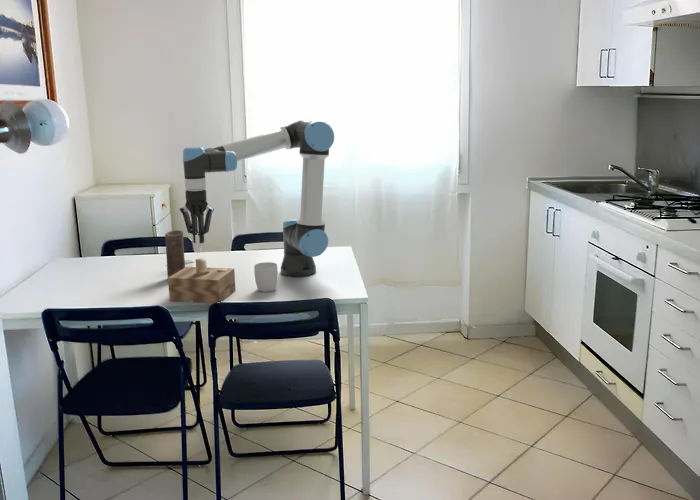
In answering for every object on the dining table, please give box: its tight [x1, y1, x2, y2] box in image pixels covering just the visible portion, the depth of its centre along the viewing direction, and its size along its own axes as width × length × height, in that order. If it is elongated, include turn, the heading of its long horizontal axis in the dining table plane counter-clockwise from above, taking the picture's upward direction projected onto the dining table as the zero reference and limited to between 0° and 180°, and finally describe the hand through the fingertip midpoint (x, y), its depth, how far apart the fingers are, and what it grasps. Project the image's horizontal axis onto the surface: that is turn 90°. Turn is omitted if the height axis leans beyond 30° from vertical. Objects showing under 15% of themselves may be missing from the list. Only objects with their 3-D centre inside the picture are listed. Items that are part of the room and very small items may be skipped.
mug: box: [253, 261, 279, 293], centre depth 266 cm, size 13×9×10 cm
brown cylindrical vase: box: [164, 229, 186, 278], centre depth 281 cm, size 8×7×20 cm
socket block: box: [167, 266, 237, 304], centre depth 258 cm, size 20×16×9 cm
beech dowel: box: [195, 257, 208, 275], centre depth 256 cm, size 4×4×9 cm
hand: (199, 251), depth 255 cm, fingers closed
